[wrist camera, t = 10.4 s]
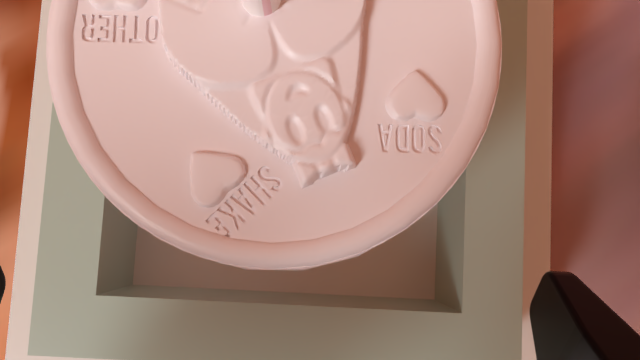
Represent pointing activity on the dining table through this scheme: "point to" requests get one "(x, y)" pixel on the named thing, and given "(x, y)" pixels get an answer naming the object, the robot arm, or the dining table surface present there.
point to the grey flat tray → (298, 285)
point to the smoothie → (274, 116)
